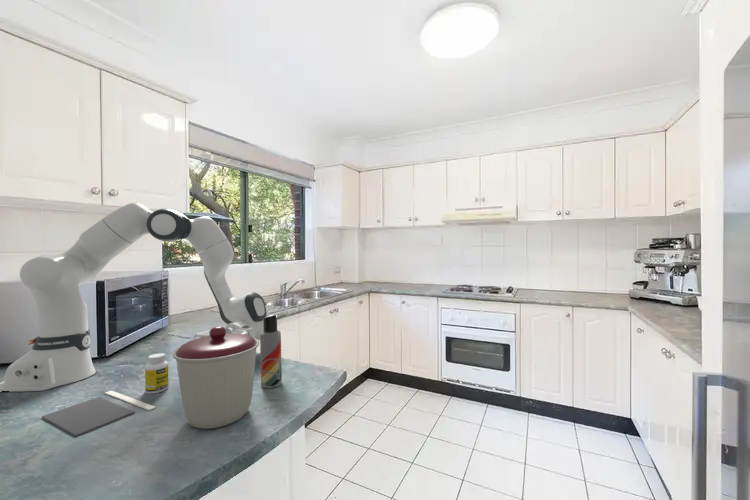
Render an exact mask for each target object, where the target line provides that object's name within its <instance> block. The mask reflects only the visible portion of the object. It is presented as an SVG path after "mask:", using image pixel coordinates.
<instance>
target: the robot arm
mask: <svg viewBox="0 0 750 500" xmlns="http://www.w3.org/2000/svg"><path fill="white" fill-rule="evenodd" d="M147 234H149V235H151V236H152V237H153V238H155V239H157V240H158V241H163V242H175V241H178V240H186V241H188V242H189V243H191V245H192V247H193V248H194V250H195V251H196V253H197V255H198V256H199V258H200V261H201V263H202V266H203V274H204V277H205V280H206V282H207V285H208V287H209V289H210V291H211V293H212V295H213V297H214V299H215V302H216V304H217V306H218V311H219V316H220V319H221V320H222V321H223V322H224V323H225V324H226V326H224V328H225V329H226V334H245V335H249V336H251V337H253V338H255V339H257V340H258V341H260V333H261V332H263V318H264V317H267V316H270V315H271V314H270V313H269V312H268V310H267V308H266V302H265V299H264V298H263V297H262V296H261V295H260V294H259V293H257V292H254V291H251V292H248V293H245V294H243V295H240V296H238V297H235V296H234V295H233V294H232V291H231V287H229V284H228V282H227V279H226V272H227V270H228V268H229V267H230V266H231V264H232V262H233V261H234V257H235V252H234V249H233V246H232V244H231V242H230V241H229V239H228V237H227V236H226V234H225V233H224V232H223V230H222V229H221V227H220V226H219V224H217V221H215V220H214V219H213V218H211V217H210V216H198V217H196V218H192V219H191V218H189V217H188V216H187V215H186V214H184V213H183V212H181V211H179V210H177V209H173V208H159V209H157V210H154V211H152V210H150V209H149V208H148V207H147V206H145V205H143V204H141V203H137V202H130V203H127V204H125V205H123V206H121V207H119V208H117V209H115V210H113V211H112V212H110V213H108V214H106V216H104V217H103V218H101V219H100V220H99V221H97V222H96V223H95V224H92V226H90V227H89V228H87V229H86V230H85V231H83V232H82V233H80V235H79V237H78V239H77V240H76V242H75V243H74V244H73V245H71V247H70V248H69V249H68V250H66V251H65V252H62V253H48V254H47V253H46V254H43V255H40V256H35V257H33V258H31V259H29V260H27V261H25V263H24V264H22V266H21V268H20V270H19V279H20V281H21V282H22V283H23V285H24V286H26V287H27V288H28V289H29V290H30V292H31V295H32V297H33V299H34V301H35V305H36V309H37V315H38V316H37V317H38V336H36V337H35V338H34V339H31V340H28V341H27V345H28V346H29V345H33V346H32V348H31V350H29V351H28V352H27V353H25V354H24V355H22V356H21V357H19V358H18V359H17V360H15V361H14V362H12V363H11V364H10V365H9V366H8V367H7V368H6V371H5V374H4V380H3V381H1V382H0V393H3V392H2V391H9V393H10V392H32V391H33V392H35V391H36V392H37V391H46V390H49V389H53V388H56V387H59V386H64V385H68V384H72V383H75V382H78V381H82V380H83V379H87V378H90V377H91V376H93V375H94V374H95V373H97V371H96V369H95V366H94V364H93V361H92V356H91V350H90V346H91V330H90V329H89V316H88V314H89V312H88V308H89V307H88V305H87V303H86V302H84V301H85V300H83V297H82V293H81V291H80V287H81V286H84V285H86V284H88V283H89V282H91V281H92V280H94V279H95V278H96V277H97V275H98V274H99V273H100V272H101V271H102V270H104V268H105V267H106V266H107V265H108V264H109V263H110V262H111V261H112V260H113V259H114V258H115V257H117V256H119V254H120V253H122V252H123V251H124V250H126V249H127V248H129V247H130V246H131V245H133V244H134V243H135V242H137V241H138V240H139V239H140V238H142V237H143V236H145V235H147ZM210 330H211V329H209V330H204V331H199V332H195V334H194V339H198V338H202V337H206V336H210V335H209V332H210ZM28 342H29V343H28Z"/></svg>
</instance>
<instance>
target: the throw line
mask: <svg viewBox="0 0 750 500" xmlns="http://www.w3.org/2000/svg"><path fill="white" fill-rule="evenodd" d="M104 394H105V395H108V396H109V397H112V398H115V399H117V400H121V401H122V402H123V401H124V402H126V403H128V404H130V405H134V406H135V407H139V408H141V409H144V410H147V411H148V412H149V411H151V410H155V409H156V406H155V405H151V404H149V403H147V402H143V401H141V400H139V399H135V398H133V397H130V396H129V395H128V396H127V395H124V394H122V393H120V392H117V391H114V390H109V391H106V392H104Z"/></svg>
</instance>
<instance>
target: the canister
mask: <svg viewBox="0 0 750 500" xmlns="http://www.w3.org/2000/svg"><path fill="white" fill-rule="evenodd" d="M209 330H210V332H209V335H210V336H206V337H202V338H198V339H195V338H193V339H192V340H189V341H187V342H185V343H184V344H181V345H180V347H178V348H176V349H174V351H173V352H172V355H171V356H172V358H173V359H174V360H175V361H176V367H177V373H178V374H177V375H178V382H179V388H180V394H181V395H180V396H181V400H182V406H183V410H184V411H183V412H184V416H185V418H186V420H187V422H188V424H190V425H191V426H192V427H194V428H197V429H202V430H204V429H207V430H209V429H216V428H221V427H224V426H228V425H230V424H232V423H235V422H236V421H238V420H240V419H241V418H242V417H244V416H245V415H246V414H247V412H248V411H249V408H250V406H251V403H252V398H253V397H252V396H253V389H254V381H255V379H254V378H255V369H256V358H257V348H258V347H260V340H257V339H255V338H253V337H251V336H249V335H245V334H226V329H225V326H223V325H219V326H213V327H211V329H209Z"/></svg>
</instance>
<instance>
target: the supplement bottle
mask: <svg viewBox="0 0 750 500" xmlns="http://www.w3.org/2000/svg"><path fill="white" fill-rule="evenodd" d="M147 362H148V363H147V364H146V365H145V367H144V368H145V369H144V373H145V374H144V379H145V381H144V385H145V387H144V389H145V390H144V392H145V393H146V394H148V395H151V394H152V395H153V394H154V395H155V394H160V393H162V392H164V391H166V390H167V389H168V388H169V363H168V361H166V353H154V354H150V355H148V357H147Z"/></svg>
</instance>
